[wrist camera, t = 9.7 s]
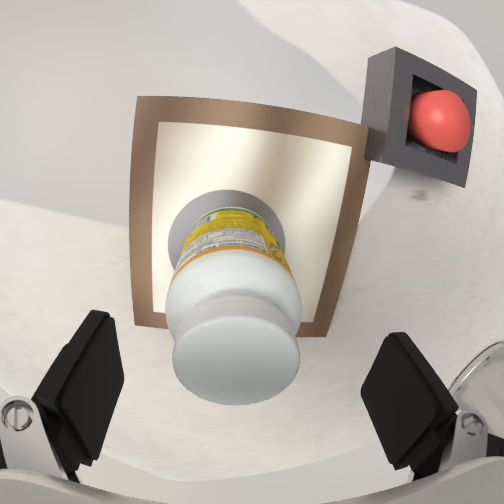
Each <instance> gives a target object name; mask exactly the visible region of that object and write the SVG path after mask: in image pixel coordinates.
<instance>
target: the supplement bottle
mask: <svg viewBox="0 0 504 504" xmlns="http://www.w3.org/2000/svg"><path fill="white" fill-rule="evenodd" d="M165 314H166V321H167V324H168V327H169V330H170V332H171V334H172V336H173V338H174V339H175V344H174V350H173V357H172V360H173V368H174V371H175V374H176V376H177V378H178V379H179V381H180V382H181V383H182V384H183V386H185V387H186V388H187V389H188V390H189V391H191V392H192V393H193V394H195V395H197V396H198V397H200V398H202V399H205V400H208V401H211V402H215V403H218V404H225V405H246V404H252V403H257V402H260V401H264V400H267V399H269V398H271V397H273V396H275V395H277V394H278V393H280V392H281V391H283V390H284V389H285V388H286V387H287V386H288V385H289V384H290V383H291V382H292V381H293V379H294V377H295V376H296V374H297V371H298V369H299V364H300V352H299V348H298V344H297V341H296V337H295V335H296V333H297V331H298V329H299V326H300V322H301V318H302V301H301V296H300V293H299V290H298V287H297V285H296V282H295V280H294V277H293V275H292V273H291V270H290V268H289V266H288V264H287V261H286V259H285V257H284V255H283V253H282V250H281V248H280V246H279V243H278V241H277V239H276V237H275V235H274V233H273V231H272V230H271V228H270V227H269V225H268V224H267V223H266V221H265V220H264V219H263V218H262V217H261V216H259V215H258V214H257V213H255V212H253V211H251V210H248V209H245V208H241V207H222V208H218V209H215V210H212V211H210V212H208V213H206V214H205V215H203V216H202V217H201V218H200V219H198V220H197V221H196V223H195V224H194V225H193V226H192V228H191V230H190V231H189V233H188V235H187V238H186V240H185V243H184V246H183V249H182V252H181V255H180V258H179V261H178V263H177V266H176V269H175V272H174V275H173V277H172V280H171V283H170V286H169V290H168V293H167V298H166V304H165Z"/></svg>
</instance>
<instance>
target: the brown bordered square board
mask: <svg viewBox="0 0 504 504" xmlns="http://www.w3.org/2000/svg"><path fill="white" fill-rule="evenodd" d="M368 129H369V127H367V126H364V125H360V124H356V123H352V122H348V121H345V120H340V119H336V118H332V117H328V116H323V115H319V114H314V113H309V112H304V111H299V110H294V109H288V108H282V107H276V106H269V105H263V104H256V103H248V102H239V101H231V100H221V99H209V98H194V97H173V96H137V103H136V113H135V120H134V130H133V141H132V155H131V171H130V199H129V200H130V202H129V240H130V269H131V286H132V299H133V311H134V321H135V325H138V326H146V327H154V328H163V329H169V327H168V324H167V321H166V314H165V304H166V298H167V293H168V290H169V286H170V283H171V280H172V277H173V275H174V272H175V269H176V266H177V263H178V261H179V258H180V255H181V252H182V249H183V246H184V243H185V240H186V238H187V235H188V233H189V231H190V230H191V228H192V226H193V225H194V224H195V223H196V221H197V220H198V219H200V218H201V217H202V216H203V215H205V214H206V213H208V212H210V211H212V210H215V209H218V208H222V207H241V208H245V209H248V210H251V211H253V212H255V213H257V214H258V215H259V216H261V217H262V218H263V219H264V220H265V221H266V223H267V224H268V225H269V227H270V228H271V230H272V231H273V233H274V235H275V237H276V239H277V241H278V243H279V246H280V248H281V250H282V253H283V255H284V257H285V259H286V261H287V264H288V266H289V268H290V270H291V273H292V275H293V277H294V280H295V282H296V285H297V287H298V290H299V293H300V296H301V301H302V318H301V322H300V326H299V329H298V331H297V333H296V335H295V337H326V335H327V332H328V329H329V326H330V323H331V320H332V317H333V314H334V310H335V307H336V304H337V301H338V297H339V294H340V290H341V287H342V283H343V280H344V276H345V273H346V269H347V265H348V262H349V258H350V254H351V250H352V246H353V242H354V238H355V234H356V230H357V226H358V221H359V217H360V212H361V208H362V203H363V198H364V194H365V189H366V184H367V178H368V173H369V168H370V162H371V160H369V159H365V158H364V155H365V149H366V142H367V136H368Z"/></svg>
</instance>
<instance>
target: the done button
mask: <svg viewBox="0 0 504 504" xmlns="http://www.w3.org/2000/svg"><path fill="white" fill-rule="evenodd" d="M470 128H471V125H470V117H469V113H468V110H467V108H466V106H465V104H464V102H463V101H462V100H461V98H460V97H459V96H458V95H456V94H455V93H454V92H451V91H448V90H440V91H429V92H420V93H415V94H413V95H412V96H411V102H410V112H409V120H408V127H407V133H408V134H409V136H410V138H411V139H412V140H413V141H414V142H415V143H416V144H418V145H419V146H421V147H424V148H430V149H436V150H442V151H447V152H457V151H460V150H461V149H462V148H463V147H464V146H465V145H466V143H467V141H468V139H469V136H470Z"/></svg>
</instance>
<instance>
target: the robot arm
mask: <svg viewBox="0 0 504 504" xmlns="http://www.w3.org/2000/svg"><path fill="white" fill-rule="evenodd" d="M123 383H124V372H123V367H122V362H121V357H120V352H119V346H118V340H117V334H116V327H115V321H114V318H112V317H110V315H109V313H108V312H103V311H97V310H91V311H90V313H89V314H88V315H87V317H86V318H85V320H84V321H83V323H82V324H81V325H80V327H79V328H78V330H77V331H76V333H75V334H74V336H73V337H72V339H71V340H70V342H69V343H68V344H66V345H65V346H64V347H63V348H62V350H61V351H60V353H59V355H58V356H57V358H56V359H55V361H54V362H53V364H52V365H51V367H50V369H49V370H48V372H47V373H46V375H45V377H44V378H43V380H42V382H41V383H40V385H39V387H38V388H37V390H36V392H35V393H34V395H33V397H32V398H31V400H30V399H28V398H26V397H22V396H13V397H11V398H8V399H6V400H5V401H4V402H2V403H1V405H0V504H166V503H160V502H154V501H149V500H144V499H138V498H134V497H129V496H124V495H120V494H116V493H112V492H108V491H104V490H101V489H97V488H94V487H90V486H87V485H84V484H83V482H82V480H81V479H80V477H79V475H78V473H77V470H78V468H79V465H80V463H81V464H84V465H87V466H90V467H91V465H92V462H93V460H97V459H98V458H99V455H100V452H101V449H102V445H103V442H104V439H105V436H106V433H107V430H108V427H109V424H110V421H111V418H112V415H113V412H114V409H115V406H116V403H117V400H118V398H119V395H120V392H121V389H122V387H123ZM361 397H362V399H363V402H364V404H365V406H366V409H367V411H368V413H369V416H370V418H371V420H372V423H373V425H374V427H375V430H376V432H377V435H378V437H379V439H380V442H381V444H382V447H383V449H384V452H385V454H386V456H387V459H388V461H389V463H390V464H393V466H394V469H395V470H398V469H402V468H405V467H407V466H408V465H410V467H411V471H410V473H409V476H408V479H407V481H406V484H404V485H401V486H398V487H394V488H391V489H388V490H384V491H380V492H377V493H373V494H369V495H365V496H360V497H356V498H351V499H346V500H341V501H335V502H329V503H323V504H504V343H499V344H496V345H493V346H491V347H490V348H488V349H487V350H485V351H484V352H483V353H482V354H480V355H479V356H478V357H477V358H476V359H475V360H474V361H473V362H472V363H471V364H470V365H469V366H468V367H467V368H466V369H465V370H464V371H463V372H462V374H461V375H460V376H459V377H458V379H457V380H456V381H455V383H454V384H453V386H452V387H451V389H450V391H448V390H447V388H446V387H445V385H444V384H443V382H442V381H441V379H440V378H439V377H438V375H437V374H436V372H435V371H434V370H433V368H432V367H431V366H430V364H429V363H428V361H427V360H426V359H425V357H424V356H423V355H422V353H421V352H420V351H419V349H418V348H417V347H416V345H415V344H414V343H413V341H412V340H411V339H410V337H409V336H408V335H407V334H406V333H405V332H392V333H390V334H389V335H388V337H386V338H385V339H384V341H383V343H382V345H381V348H380V350H379V352H378V354H377V356H376V359H375V361H374V363H373V365H372V367H371V369H370V371H369V373H368V375H367V377H366V379H365V381H364V383H363V385H362V388H361ZM458 410H462V411H461V412H460V413H459V414H458V415H456V413H455V412H456V411H458Z"/></svg>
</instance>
